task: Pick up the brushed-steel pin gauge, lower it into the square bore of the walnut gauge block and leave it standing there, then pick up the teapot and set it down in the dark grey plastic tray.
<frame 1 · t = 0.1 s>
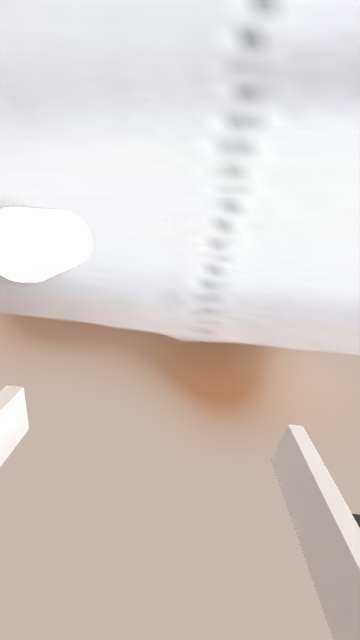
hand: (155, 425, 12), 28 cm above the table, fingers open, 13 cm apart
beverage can: (67, 239, 36), on the table
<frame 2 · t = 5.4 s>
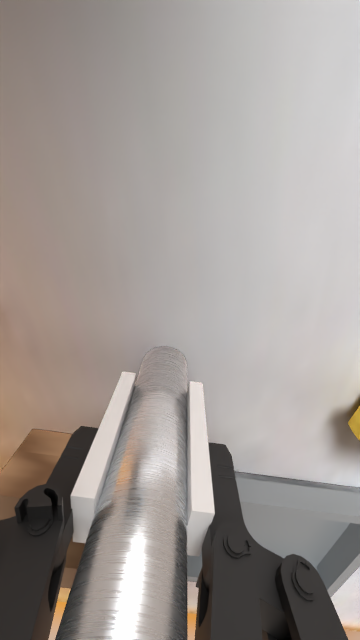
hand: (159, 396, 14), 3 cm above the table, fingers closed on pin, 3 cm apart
pin: (164, 365, 17), on the table, touching gripper
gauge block: (103, 483, 22), on the table
tray: (260, 522, 24), on the table
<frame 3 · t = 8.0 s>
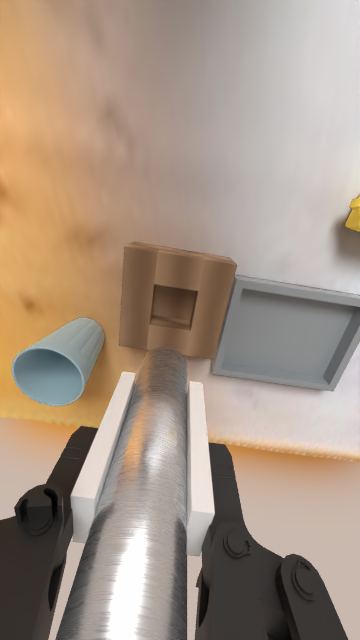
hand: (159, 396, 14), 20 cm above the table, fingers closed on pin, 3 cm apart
cup: (86, 333, 35), on the table
pin: (164, 366, 17), point 16 cm above the table, touching gripper
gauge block: (175, 295, 32), on the table
tray: (283, 332, 34), on the table
when the fingers open (6 cm above the table, at t = 11.1 s): pin stays where it is, resting on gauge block.
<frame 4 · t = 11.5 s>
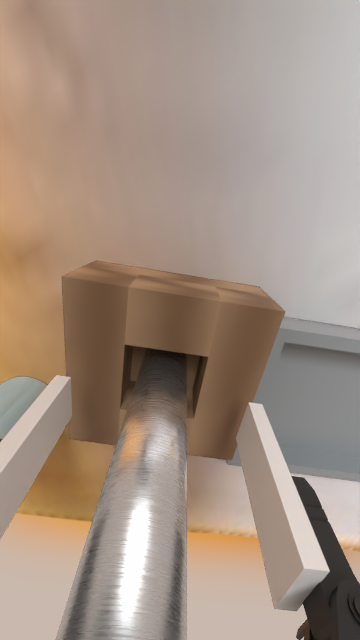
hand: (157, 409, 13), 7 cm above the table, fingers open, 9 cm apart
cup: (31, 398, 22), on the table
pin: (165, 358, 18), point 2 cm above the table, touching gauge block
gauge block: (167, 345, 19), on the table
tray: (338, 400, 21), on the table
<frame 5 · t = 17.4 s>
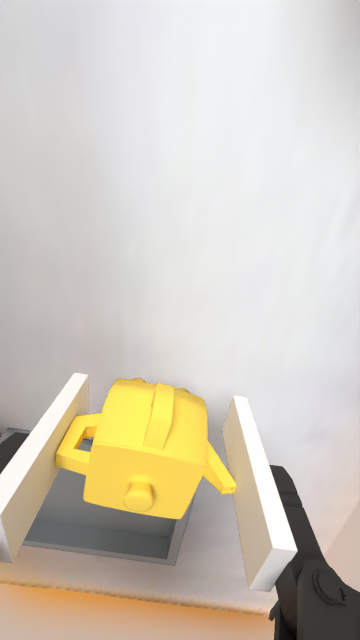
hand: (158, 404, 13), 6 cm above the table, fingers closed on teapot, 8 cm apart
teapot: (160, 397, 14), point 5 cm above the table, touching gripper
tray: (101, 489, 25), on the table
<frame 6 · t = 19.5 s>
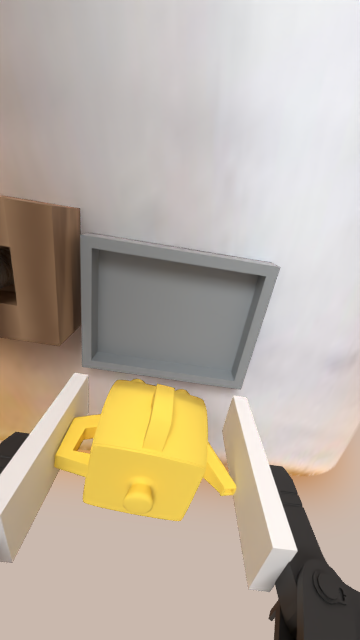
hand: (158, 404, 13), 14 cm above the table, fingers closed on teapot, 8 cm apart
pin: (8, 266, 22), point 2 cm above the table, touching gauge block
teapot: (160, 398, 14), point 13 cm above the table, touching gripper
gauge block: (21, 262, 24), on the table
tray: (172, 313, 26), on the table
when the fingers open (2 cm above the table, at t = 21.8 s): teapot drops 1 cm, resting on tray.
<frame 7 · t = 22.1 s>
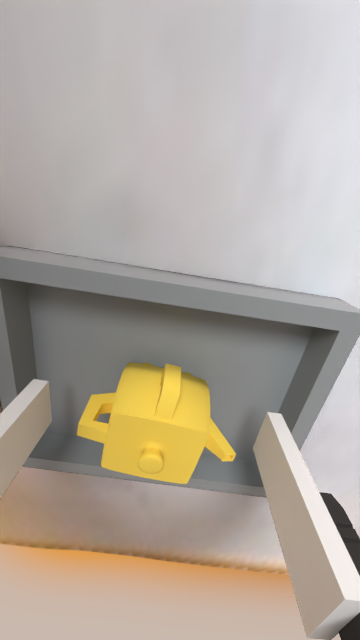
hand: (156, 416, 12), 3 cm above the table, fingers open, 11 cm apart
teapot: (167, 380, 15), resting on tray
tray: (162, 377, 15), on the table
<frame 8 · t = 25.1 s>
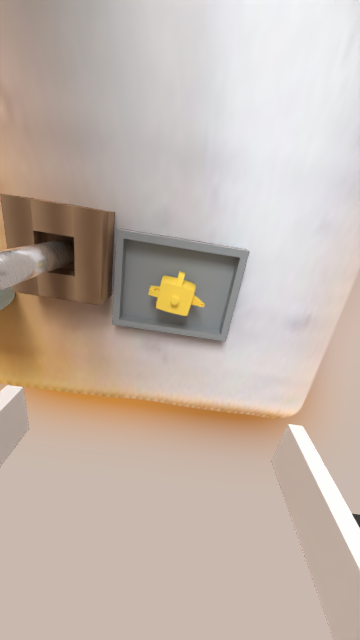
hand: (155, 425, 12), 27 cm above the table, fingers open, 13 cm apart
pin: (65, 251, 33), point 2 cm above the table, touching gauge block
teapot: (178, 286, 36), resting on tray
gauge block: (72, 249, 35), on the table
tray: (176, 286, 36), on the table
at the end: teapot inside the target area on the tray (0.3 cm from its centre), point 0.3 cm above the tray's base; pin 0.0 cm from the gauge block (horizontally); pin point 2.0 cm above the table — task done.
